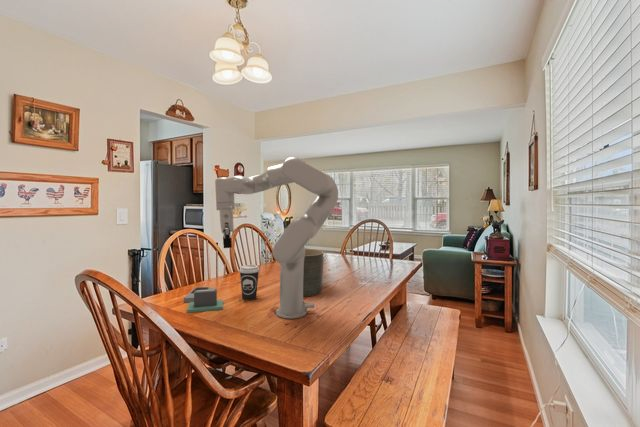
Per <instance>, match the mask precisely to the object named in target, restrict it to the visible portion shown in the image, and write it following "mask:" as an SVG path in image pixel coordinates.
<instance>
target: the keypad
mask: <svg viewBox="0 0 640 427" xmlns="http://www.w3.org/2000/svg"><path fill="white" fill-rule="evenodd" d="M206 289H215V288H214V287H212V286H195V287H194V288H193V289H192V290H191V291H189V292H188V294H186V295H185V296H184V297H183V303H188V304H189V302H194V291H195V290H206Z"/></svg>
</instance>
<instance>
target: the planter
mask: <svg viewBox="0 0 640 427" xmlns="http://www.w3.org/2000/svg"><path fill="white" fill-rule="evenodd" d="M324 256H325V255H324V251H323V250H321V249H315V248H305V257H304V276H303V298H304V297H313V296H316V295H320V294H321V293H322V292H323V282H324V281H323V279H324V278H323V277H324Z"/></svg>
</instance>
